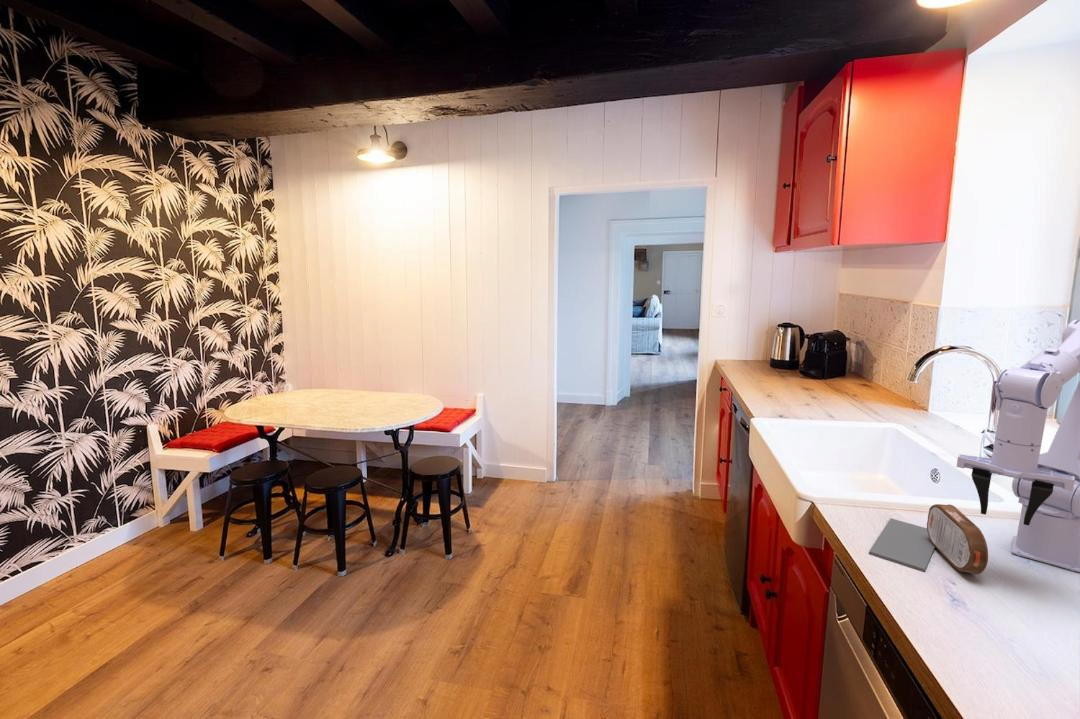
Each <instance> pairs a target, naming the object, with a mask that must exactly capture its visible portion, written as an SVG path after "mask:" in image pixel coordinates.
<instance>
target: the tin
mask: <svg viewBox="0 0 1080 719" xmlns="http://www.w3.org/2000/svg"><path fill="white" fill-rule="evenodd" d="M926 528H927V531H928V535H929V538H930V540H931V542H932V543H933V545H934V546H935V548H936V549H937V550H938V551H939V553H941V555H942V556H943V557H944V558H945V559H946V560H947V561H948V562H949V563H950V564H951V566H952V567H953V568H954V569H955V570H957V571H959V572H961V573H962V572H963V573H969V574H970V573H971V574H974V575H979V574H982V573H984V572H985V570H986V568H987V567H988V563H989V562H988V561H989V548H988V544H987V541H986V537H985V535H984V533H983V532H982V531H981V529H980V528H979V527H978V526H977V524H975V523H974V522H973V521H971V520H970V519H969V518H968V517H967V516H966V515H965V514H964V513H963V512H962V511H961V510H960V509H958V508H957V507H956V506H954V505H953V504H942V503H941V504H939V503H937V504H933V505H931V506H930V507H929V509H928V514H927V522H926Z"/></svg>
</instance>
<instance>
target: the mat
mask: <svg viewBox="0 0 1080 719" xmlns="http://www.w3.org/2000/svg"><path fill="white" fill-rule="evenodd" d="M935 548H936V547H935V546H934V545H933V543H932V542H931V540H930V538H929V535H928V531H927V527H923V526H920V525H917V524H912V523H910V522H905V521H904V520H899V519H895V518H892V517H891V518H889V520H888V521H887V523H886V524H885V526H884V527H883V530H881V532H880V534H879V535H878V537H877V538H876V539H875V541H874V543H873V544H872V546H871V548H870V549H869V551H868V555H871V556H875V557H878V558H880V559H883V560H884V559H885V560H886V561H887V560H888V561H890V562H893V563H897V564H899V565H902V566H905V567H908V568H912V569H915V570H917V571H920V572H923V573H924V572H926V570H927V567H928V565H929V563H930V561H931V558H932V556H933V553H934V552H935V551H934V550H935Z"/></svg>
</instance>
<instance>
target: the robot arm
mask: <svg viewBox="0 0 1080 719" xmlns="http://www.w3.org/2000/svg"><path fill="white" fill-rule="evenodd" d="M1078 373H1079V374H1080V319H1074V320H1072V321H1070V322H1069V323H1068V324H1067V325H1066V326H1065V328H1064V330H1063V332H1062V336H1061V343H1060V344H1059V345H1058V346H1057V347H1056V348H1054V347H1053V348H1052V347H1047V348H1046V349H1044V350H1042V351H1040V352H1039V353H1037V354H1036V355H1035V356H1033V357H1032V358H1031V359H1030V360H1028V361H1027V362H1025V363H1024V364H1022V365H1021V366H1019V367H1017V366H1012V367H1010V368H1008V369H1003V370H1002V371H1001V372H1000V373H999V375H998V377H997V380H996V383H995V385H994V393H995V397H996V398H995V399H996V404H995V408H996V410H997V411H998V412H999V413H998V418H997V424H996V431H995V435H994V436H995V437H994V443H993V448H992V454H991V455H992V456H991V457H983V456H975V455H967V454H962V453H959V454H958V456H957V461H956V468H959V469H965V468H966V469H970V470H971V474H970V476H971V479H972V482H973V484H974V486H975V488H976V491H977V495H978V498H979V503H980V514H981V515H987V511H988V507H989V492H990V485H991V481H992V480H991V479H992V474H994V475H999V476H1004V477H1007V478H1008V477H1010V478H1013V479H1012V483H1011V489H1012V492H1013V494H1014V496H1015V497H1016V498H1018V503H1019V504H1021V509H1020V515H1019V522H1018V527H1017V528H1018V529H1017V534H1016V536H1015V535H1014V536H1013V540H1012V547H1011V554H1014V555H1017V556H1019V557H1020V556H1021V557H1024V558H1028V559H1031V560H1034V561H1038V562H1042V563H1046V564H1049V565H1052V566H1056V567H1060V568H1063V569H1067V570H1071V571H1075V572H1078V573H1080V380H1078V384H1077V386H1076V388H1075V390H1074V392H1073V395H1072V397H1071V399H1070V401H1069V404H1068V405H1067V408H1066V410H1065V412H1064V414H1063V417H1062V420H1061V422H1060V424H1059V425H1058V428H1057V431H1056V433H1055V435H1054V438H1053V439H1052V442H1051V444H1050V446H1049V448H1048V451H1046V452H1043V453H1041V449H1042V443H1043V442H1042V441H1043V438H1044V431H1045V426H1046V420H1047V416H1048V415H1047V414H1048V409H1049V408H1051V407H1052V406H1054V404H1055V403H1056V401H1057V399H1058V397H1059V395H1060V394H1061V393H1062V391H1063V386H1064V385H1065V384H1066V383H1068V382H1069V381H1070V380H1072V379H1073V378H1074V377H1075V376H1077V374H1078Z"/></svg>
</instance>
